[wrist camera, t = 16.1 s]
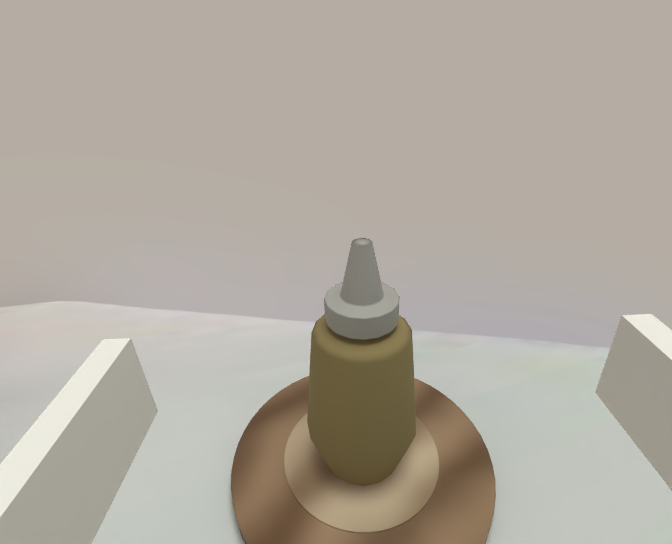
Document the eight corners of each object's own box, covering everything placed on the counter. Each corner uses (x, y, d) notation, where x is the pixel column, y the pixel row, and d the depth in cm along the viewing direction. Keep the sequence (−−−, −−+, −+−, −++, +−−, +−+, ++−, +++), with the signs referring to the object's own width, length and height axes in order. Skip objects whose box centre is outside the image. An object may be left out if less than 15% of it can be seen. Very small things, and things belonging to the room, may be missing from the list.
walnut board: (535, 460, 32) (540, 446, 31) (380, 724, 20) (380, 711, 19) (352, 352, 45) (351, 340, 44) (185, 471, 32) (181, 457, 31)
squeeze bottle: (422, 427, 33) (444, 225, 25) (399, 519, 27) (418, 287, 18) (333, 402, 36) (324, 212, 27) (291, 480, 29) (264, 262, 21)
